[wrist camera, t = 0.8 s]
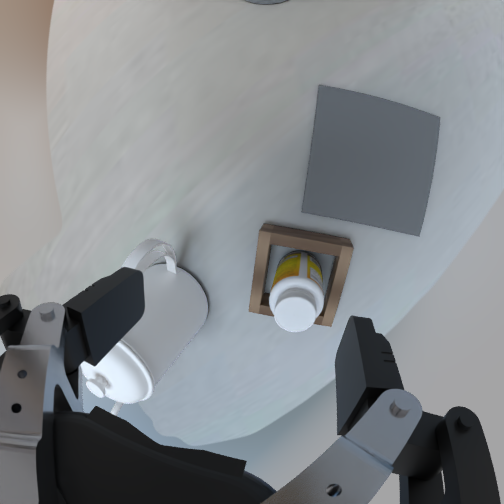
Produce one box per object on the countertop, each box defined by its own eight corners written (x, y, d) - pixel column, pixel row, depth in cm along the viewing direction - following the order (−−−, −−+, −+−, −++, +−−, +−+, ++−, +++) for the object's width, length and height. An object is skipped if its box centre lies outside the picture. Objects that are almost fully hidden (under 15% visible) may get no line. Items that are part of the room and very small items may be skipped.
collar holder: (263, 223, 31) (259, 230, 28) (349, 239, 30) (353, 247, 27) (253, 299, 35) (248, 311, 32) (330, 313, 33) (331, 326, 31)
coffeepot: (134, 344, 43) (72, 420, 25) (154, 203, 33) (35, 256, 16) (191, 371, 42) (142, 462, 25) (234, 233, 32) (153, 325, 15)
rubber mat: (318, 86, 25) (319, 84, 24) (438, 117, 23) (440, 117, 22) (301, 211, 30) (301, 212, 29) (417, 235, 28) (419, 236, 27)
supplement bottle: (271, 282, 34) (257, 329, 25) (284, 243, 32) (274, 280, 23) (312, 296, 33) (311, 345, 24) (328, 258, 31) (334, 299, 22)
